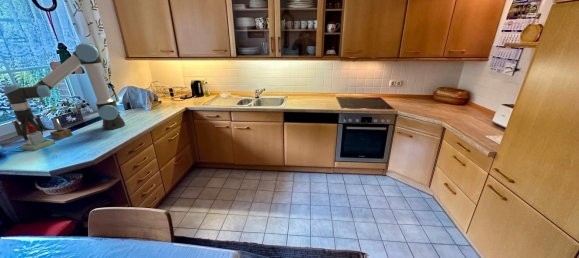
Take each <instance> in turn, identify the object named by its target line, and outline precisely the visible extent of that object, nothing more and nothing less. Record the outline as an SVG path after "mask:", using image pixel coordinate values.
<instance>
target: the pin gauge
mask: <svg viewBox="0 0 579 258" xmlns="http://www.w3.org/2000/svg"><path fill="white" fill-rule="evenodd" d="M52 121H53V124H54V126H55V129H56V130H57V132H61V131H63V130H62V129H63V128H62V125H61V122H60V120H59V118H54V119H52Z"/></svg>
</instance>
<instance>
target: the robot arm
mask: <svg viewBox="0 0 579 258" xmlns="http://www.w3.org/2000/svg"><path fill="white" fill-rule="evenodd" d="M71 53H72V55H71V56H70V57H68V58H67V59H66V60H65V61H64V62H62V63H61V64H60V65H58V66H57V67H55V69H53V70H52V71H51V72H49V73H48V74H47V75H46V76H44V77H43V78H42V79H41V80H39V81H38V82H37V83H35V84H33V86H24V87H23V86H22V85H21V84H18V83H16V84H7V85H4V86H3V92H4V94H5V96H6V98H7V101H8V102H9V104H10V106H11V109H12V110H13V114H14V115H15V117H16V120H12V121H11V124H13V125H14V129H15V131H16V134H17V136H19V137H23V140H24V141H26V140H27V141H26V143H27V142H28V144H32V141H31V139H30V137H29V135H27V126H26V125H27V123H31V124H32V125H33V126H34V127H35V128H36V129H37V130H38V131H36V132H37V133H42V135H43V136H44V132H43V130H45V126H44V123H43V122H42V121H41V117H40V115H39V114H35V115H34V114H33V111H32V109H31V108H30V104H29V102H28V100H30V99H39V98H49V97H51V94H52V93H51V90H53V89H54V88H55V87H56V86H57V85H59V84H60V83H61V82H63V80H65V79H66V78H68V77H69V76H70V75H71V74H73V73H74V72H75V71H76V70H77V69H79V68H80V67H81V66H83V67H84V69H85V71H86V73H87V76H88V79H89V82H90V85H91V88H92V90H93V94H94V96H95V98H96V102H95V106H96V109H97V112H98V115H99V117H100V118H101V119H102V129H103V130H107V131H110V130H116V129H120V128H122V127H125V126H126V123H125V120H124V119H123V117H121V114H120V111H119V107H118V104H117V100H116V99H115V98H113V97H111V93H110V90H109V88H108V84H107V81H106V78H105V76H104V73H103V70H102V67H101V64H102V63H103V62H102V60H101V57H100V53H99V50H98V47H96V46H95V45H94V44H93V43H89V42H81V43H79V44H78V45H77V46H76V47H75V49H74V51H73V52H71ZM34 119H35V121H34ZM19 122H21V128H20V125H19Z"/></svg>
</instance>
